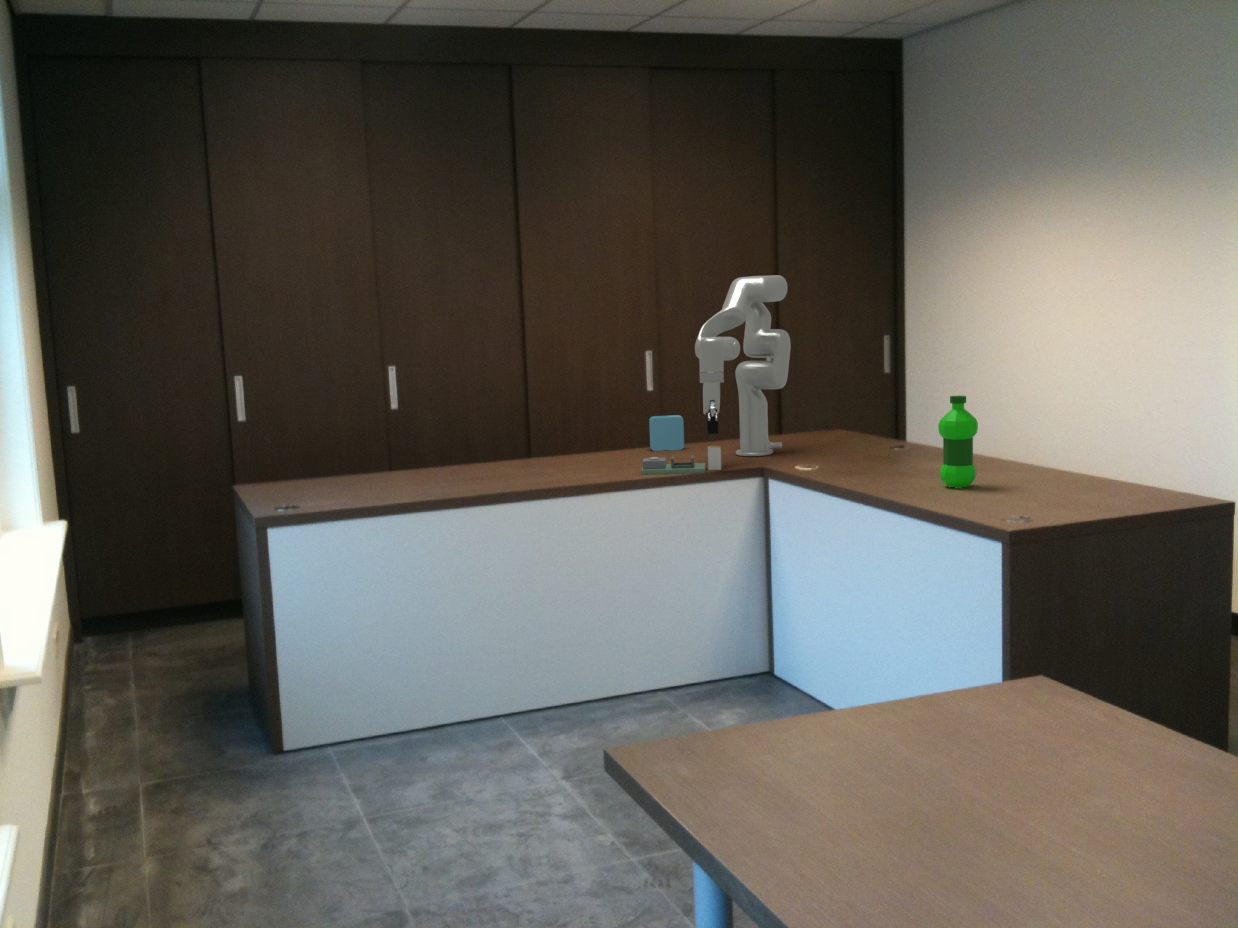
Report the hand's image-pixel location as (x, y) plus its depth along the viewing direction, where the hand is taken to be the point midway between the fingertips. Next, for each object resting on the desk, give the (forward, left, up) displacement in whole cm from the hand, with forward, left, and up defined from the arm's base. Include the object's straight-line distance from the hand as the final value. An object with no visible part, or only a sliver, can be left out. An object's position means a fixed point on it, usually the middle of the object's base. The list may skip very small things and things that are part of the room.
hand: (712, 432), depth 383 cm
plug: (0, -1, -12) cm, 12 cm away
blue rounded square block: (+16, -49, -12) cm, 52 cm away
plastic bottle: (-66, +45, -12) cm, 81 cm away
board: (+13, 0, -12) cm, 17 cm away
